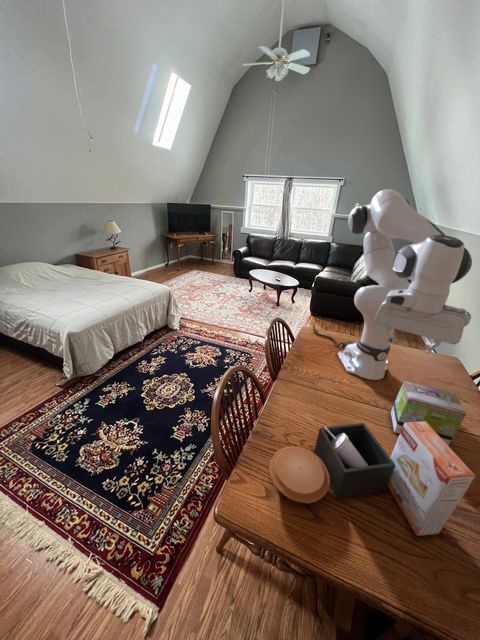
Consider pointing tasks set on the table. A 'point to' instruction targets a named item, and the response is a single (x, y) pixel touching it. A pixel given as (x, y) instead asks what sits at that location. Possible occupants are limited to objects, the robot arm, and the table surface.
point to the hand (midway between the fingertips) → (407, 346)
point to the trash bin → (359, 478)
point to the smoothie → (347, 451)
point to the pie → (299, 474)
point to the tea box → (428, 409)
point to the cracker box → (426, 478)
